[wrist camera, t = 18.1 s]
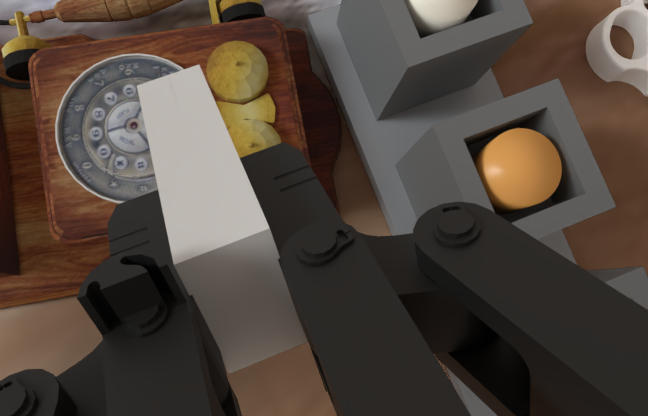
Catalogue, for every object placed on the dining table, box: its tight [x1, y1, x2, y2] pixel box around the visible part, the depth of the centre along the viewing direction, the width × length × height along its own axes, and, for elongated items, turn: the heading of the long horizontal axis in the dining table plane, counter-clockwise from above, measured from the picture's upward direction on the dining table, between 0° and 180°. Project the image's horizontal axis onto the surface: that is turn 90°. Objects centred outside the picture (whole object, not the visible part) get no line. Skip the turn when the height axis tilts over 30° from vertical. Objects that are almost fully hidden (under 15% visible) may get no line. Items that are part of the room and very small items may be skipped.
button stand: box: [306, 0, 648, 416], centre depth 45 cm, size 38×13×14 cm, turn 22°
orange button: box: [471, 128, 562, 214], centre depth 41 cm, size 5×5×4 cm
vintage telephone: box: [0, 0, 341, 308], centre depth 45 cm, size 24×12×40 cm
